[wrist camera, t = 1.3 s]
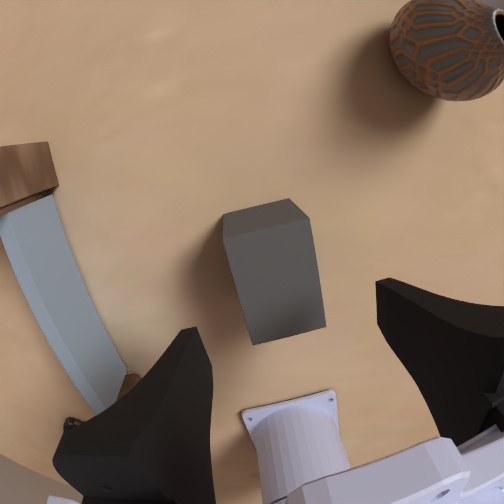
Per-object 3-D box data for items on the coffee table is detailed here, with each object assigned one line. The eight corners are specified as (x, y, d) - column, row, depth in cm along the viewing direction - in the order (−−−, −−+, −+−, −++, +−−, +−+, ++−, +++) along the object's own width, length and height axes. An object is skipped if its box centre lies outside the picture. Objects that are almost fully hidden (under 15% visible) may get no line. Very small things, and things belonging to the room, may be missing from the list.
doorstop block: (305, 286, 21) (326, 326, 16) (246, 300, 21) (252, 345, 16) (288, 198, 19) (309, 217, 14) (223, 213, 19) (222, 238, 14)
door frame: (146, 388, 23) (130, 456, 16) (121, 391, 23) (101, 455, 17) (47, 141, 16) (-23, 149, 10) (21, 155, 16) (-48, 169, 10)
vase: (369, 86, 17) (458, 62, 8) (375, -3, 14) (449, -56, 6) (452, 116, 17) (546, 120, 9) (455, 34, 15) (539, 12, 7)
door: (127, 369, 22) (111, 415, 17) (104, 372, 22) (85, 416, 17) (52, 194, 17) (8, 212, 13) (29, 204, 17) (-16, 224, 13)
